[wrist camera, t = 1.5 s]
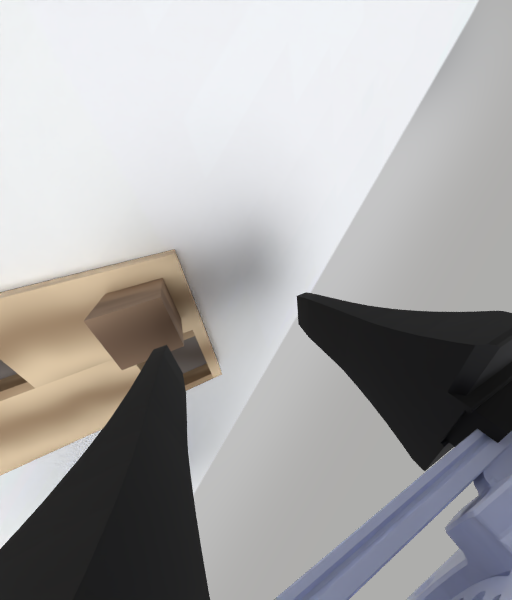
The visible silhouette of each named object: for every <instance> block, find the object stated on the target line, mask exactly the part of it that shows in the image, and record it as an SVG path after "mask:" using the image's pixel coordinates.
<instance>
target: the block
mask: <svg viewBox="0 0 512 600" xmlns="http://www.w3.org/2000/svg"><path fill="white" fill-rule="evenodd" d="M84 323H85V324H86V325H87V326H88V328H89V329H90V330H91V332H92V333H93V334H94V335H95V337H96V338H97V339H98V340H99V342H100V343H101V344H102V346H103V347H104V348H105V349H106V351H107V352H108V353H109V355H110V356H111V357H112V358H113V360H114V361H115V362H116V363H117V365H118V366H119V367H120V369H121V370H124V369H127V368H129V367H132V366H134V365H137V364H139V363H142V362H145V361H147V359H148V358H149V356H150V354H151V353H152V351H153V350H154V349H156V348H159V347H162V346H164V345H167V346H168V347H169V349H170V351H173V350H175V349H178V348H180V347H183V346H184V340H183V330H182V320H181V317H180V315H179V312H178V310H177V308H176V306H175V304H174V301H173V299H172V297H171V295H170V293H169V290H168V288H167V286H166V284H165V282H164V279H163V278H160V279H156V280H152V281H149V282H145V283H142V284H138V285H135V286H131V287H128V288H124V289H121V290H117V291H114V292H110V293H107V294H105V295H104V296H103V297H102V298H101V300H100V301H99V302H98V303H97V305H96V306H95V307H94V308H93V310H92V311H91V312H90V313H89V315H88V316H87V317H86V318H85V320H84Z"/></svg>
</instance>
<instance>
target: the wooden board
mask: <svg viewBox="0 0 512 600" xmlns="http://www.w3.org/2000/svg"><path fill="white" fill-rule="evenodd" d="M160 278H163V279H164V282H165V284H166V286H167V288H168V290H169V293H170V295H171V297H172V299H173V301H174V304H175V306H176V308H177V310H178V312H179V315H180V317H181V320H182V330H183V340H184V346H183V347H180V348H178V349H175V350H173V351H171V353H172V355H173V356H174V358H175V360H176V362H177V364H178V365H179V367H180V369H181V371H182V372H183V377H184V383H185V390H186V391H187V390H189V389H191V388H193V387H195V386H197V385H200V384H202V383H204V382H206V381H208V380H211V379H213V378H215V377H217V376H219V375H222V373H221V370H220V367H219V363H218V361H217V358H216V355H215V353H214V350H213V348H212V345H211V343H210V340H209V337H208V335H207V332H206V330H205V327H204V324H203V322H202V319H201V317H200V314H199V311H198V309H197V306H196V304H195V301H194V299H193V296H192V293H191V291H190V288H189V286H188V283H187V280H186V278H185V275H184V273H183V270H182V267H181V265H180V262H179V260H178V257H177V255H176V252H175V249H174V250H170V251H166V252H162V253H158V254H154V255H150V256H146V257H142V258H138V259H134V260H130V261H126V262H122V263H118V264H114V265H110V266H106V267H102V268H98V269H94V270H90V271H86V272H82V273H77V274H73V275H69V276H65V277H61V278H57V279H53V280H49V281H45V282H41V283H37V284H33V285H29V286H25V287H21V288H17V289H13V290H9V291H5V292H1V293H0V475H2V474H5V473H7V472H9V471H11V470H13V469H16V468H18V467H20V466H22V465H24V464H27V463H29V462H31V461H33V460H35V459H38V458H40V457H42V456H44V455H46V454H48V453H51V452H53V451H55V450H57V449H59V448H62V447H64V446H66V445H68V444H70V443H73V442H75V441H77V440H79V439H81V438H84V437H86V436H88V435H90V434H92V433H95V432H97V431H99V430H101V429H103V428H104V426H105V425H106V424H107V422H108V421H109V419H110V418H111V417H112V415H113V414H114V412H115V411H116V409H117V408H118V406H119V405H120V403H121V402H122V400H123V399H124V397H125V396H126V394H127V393H128V391H129V390H130V388H131V386H132V385H133V383H134V381H135V380H136V378H137V377H138V375H139V373H140V371H141V370H142V368H143V366H144V365H145V363H146V361H145V362H142V363H139V364H137V365H134V366H132V367H129V368H127V369H124V370H121V369H120V367H119V366H118V365H117V363H116V362H115V361H114V360H113V358H112V357H111V356H110V355H109V353H108V352H107V351H106V349H105V348H104V347H103V346H102V344H101V343H100V342H99V340H98V339H97V338H96V337H95V335H94V334H93V333H92V332H91V330H90V329H89V328H88V326H87V325H86V324H85V323H84V320H85V318H86V317H87V316H88V315H89V313H90V312H91V311H92V310H93V308H94V307H95V306H96V305H97V303H98V302H99V301H100V300H101V298H102V297H103V296H104V295H105V294H107V293H110V292H114V291H117V290H121V289H124V288H128V287H131V286H135V285H138V284H142V283H145V282H149V281H152V280H156V279H160Z"/></svg>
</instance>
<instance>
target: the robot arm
mask: <svg viewBox="0 0 512 600" xmlns="http://www.w3.org/2000/svg"><path fill="white" fill-rule="evenodd" d="M297 305H298V321H299V325H300V327H301V328H302V329H303V330H304V332H305V333H306V334H307V335H308V337H309V338H311V340H312V341H313V342H315V343H316V344H317V345H318V346H319V347H320V348H321V349H322V350H323V351H324V352H325V353H326V354H327V355H328V356H330V358H331V359H333V360H334V361H335V362H336V363H337V364H338V365H339V366H340V367H341V368H342V369H343V370H344V371H345V373H346V374H347V375H348V376H349V377H350V378H351V379H352V381H353V382H354V383H355V384H356V385H357V386H358V388H359V389H360V390H361V391H362V392H363V394H364V395H365V396H366V397H367V399H368V400H369V401H370V402H371V403H372V405H373V406H374V407H375V409H376V410H377V411H378V413H379V414H380V415H381V416H382V418H383V419H384V420H385V421H386V423H387V424H388V425H389V427H390V428H391V430H392V431H393V432H394V434H395V435H396V437H397V438H398V439H399V441H400V442H401V443H402V445H403V446H404V448H405V449H406V451H407V452H408V453H409V455H410V456H411V458H412V459H413V460H414V461H415V462H416V463H417V464H418V465H419V466H420V467H421V468H422V469H423V470H424V471H426V470H427V469H428V468H429V467H430V466H432V465H433V464H434V463H435V462H436V461H438V460H439V459H440V458H441V457H442V456H443V455H445V454H446V453H447V452H448V451H449V450H451V449H452V448H453V447H455V448H454V449H452V450H451V451H450V452H449V453H448V454H446V455H445V456H444V457H443V458H442V459H440V460H439V461H438V462H437V463H436V464H435V465H433V466H432V467H431V468H430V469H429V470H427V471H426V472H425V473H424V474H423V475H421V476H420V477H419V478H418V479H417V480H415V481H414V482H413V483H412V484H411V485H410V486H408V487H407V488H406V489H405V490H404V491H402V492H401V493H400V494H399V495H398V496H397V497H395V498H394V499H393V500H392V501H391V502H389V503H388V504H387V505H386V506H385V507H383V508H382V509H381V510H380V511H379V512H378V513H376V514H375V515H374V516H373V517H372V518H371V519H369V520H368V521H367V522H366V523H364V524H363V525H362V526H361V527H360V528H358V529H357V530H356V531H355V532H354V533H352V534H351V535H350V536H349V537H348V538H347V539H345V540H344V541H343V542H342V543H341V544H339V545H338V546H337V547H336V548H335V549H333V550H332V551H331V552H330V553H329V554H327V555H326V556H325V557H324V558H323V559H322V560H320V561H319V562H318V563H317V564H316V565H315V566H313V567H312V568H311V569H310V570H309V571H307V572H306V573H305V574H304V575H303V576H301V577H300V578H299V579H298V580H297V581H295V582H294V583H293V584H292V585H291V586H289V587H288V588H287V589H286V590H285V591H284V592H282V593H281V594H280V595H279V596H278V597H276V598H275V599H274V600H349V599H350V598H351V597H352V596H353V595H354V594H355V593H356V592H357V591H358V590H359V589H360V588H361V587H362V586H363V585H364V584H366V582H367V581H369V580H370V579H371V578H372V577H373V576H374V575H375V574H376V573H377V572H378V571H379V570H380V569H381V568H382V567H383V566H384V565H385V564H386V563H387V562H388V561H390V560H391V558H393V557H394V556H395V555H396V554H397V553H398V552H399V551H400V550H401V549H402V548H403V547H404V546H405V545H406V544H407V543H409V542H410V540H412V539H413V538H414V537H415V536H416V535H417V534H418V533H419V532H420V531H421V530H422V529H423V528H424V527H425V526H426V525H427V524H428V523H429V522H431V521H432V519H434V518H435V517H436V516H437V515H438V514H439V513H440V512H441V511H442V510H443V509H444V508H445V507H446V506H447V505H448V504H449V503H450V502H451V501H453V500H454V499H455V498H456V497H457V496H458V495H459V494H460V493H461V492H462V491H463V490H464V489H465V488H466V487H467V486H468V485H469V484H470V483H471V482H472V481H474V485H475V487H476V489H477V490H478V493H479V496H477V497H476V498H475V499H474V500H472V501H471V502H470V503H469V504H467V505H466V506H465V507H463V508H462V509H461V510H460V511H459V512H458V513H457V514H456V515H455V516H454V517H453V519H452V520H451V521H450V522H449V524H448V525H447V526H446V527H445V529H446V533H447V534H448V535H449V536H450V538H451V539H452V540H453V541H454V542H455V543H456V545H457V546H458V547H459V549H458V550H457V551H456V552H455V553H454V554H453V555H452V556H451V557H450V558H449V559H448V560H447V561H446V562H445V563H444V564H443V565H442V566H441V567H440V568H438V569H437V570H436V571H435V572H434V573H433V574H432V575H431V576H430V577H429V578H428V579H427V580H426V581H425V582H424V583H423V584H422V585H421V586H420V587H419V588H418V589H417V590H415V592H413V593H412V594H411V595H410V596H409V597H408V598H407V599H406V600H512V313H509V312H504V311H481V312H427V311H411V310H398V309H389V308H381V307H374V306H367V305H362V304H357V303H351V302H347V301H342V300H338V299H334V298H329V297H325V296H321V295H317V294H312V293H304V294H301V295H298V296H297ZM0 600H210V597H209V592H208V586H207V580H206V574H205V568H204V562H203V556H202V551H201V544H200V538H199V531H198V525H197V519H196V512H195V505H194V497H193V490H192V483H191V475H190V466H189V458H188V446H187V412H186V390H185V383H184V377H183V372H182V371H181V369H180V367H179V365H178V364H177V362H176V360H175V358H174V356H173V355H172V353H171V351H170V349H169V347H168V346H167V345H164V346H162V347H159V348H156V349H154V350H153V351H152V353H151V354H150V356H149V358H148V359H147V361H146V363H145V365H144V366H143V368H142V370H141V371H140V373H139V375H138V377H137V378H136V380H135V381H134V383H133V385H132V386H131V388H130V390H129V391H128V393H127V394H126V396H125V397H124V399H123V400H122V402H121V403H120V405H119V406H118V408H117V409H116V411H115V412H114V414H113V415H112V417H111V418H110V419H109V421H108V422H107V424H106V425H105V426H104V428H103V429H102V430H101V432H100V433H99V434H98V436H97V437H96V438H95V440H94V441H93V442H92V444H91V445H90V446H89V447H88V449H87V450H86V451H85V453H84V454H83V455H82V456H81V458H80V459H79V460H78V461H77V462H76V464H75V465H74V466H73V467H72V468H71V469H70V471H69V472H68V473H67V474H66V475H65V477H64V478H63V479H62V480H61V481H60V483H59V484H58V485H57V486H56V487H55V489H54V490H53V491H52V492H51V493H50V494H49V496H48V497H47V498H46V499H45V500H44V501H43V503H42V504H41V505H40V506H39V507H38V508H37V509H36V510H35V512H34V513H33V514H32V515H31V516H30V517H29V518H28V519H27V520H26V522H25V523H24V524H23V525H22V526H21V527H20V528H19V529H18V530H17V532H16V533H15V534H14V535H13V536H12V537H11V538H10V539H9V540H8V541H7V542H6V543H5V545H4V546H3V547H2V548H1V549H0Z"/></svg>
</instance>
